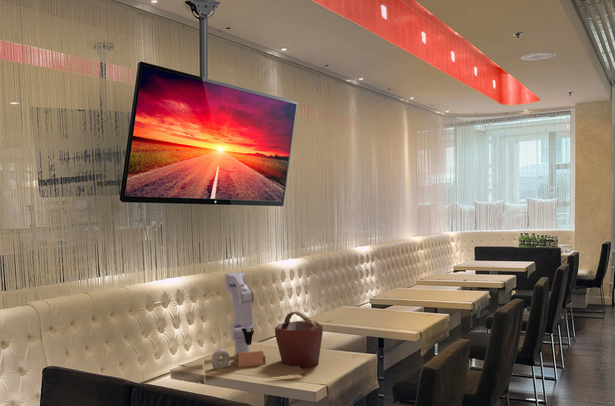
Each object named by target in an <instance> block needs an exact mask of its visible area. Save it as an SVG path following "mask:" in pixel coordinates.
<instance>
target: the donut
mask: <svg viewBox="0 0 615 406" xmlns="http://www.w3.org/2000/svg"><path fill="white" fill-rule="evenodd" d="M221 357H222V360H221V362H219V360H220V358H221ZM210 362H211V366H212V368H213V369H214V370H220V369H224V368H226V367H228V365H229V364H230V354H229V352H228V351H227V349H223V348H219V349H217V350H215V351H214V352H213V354H212V356H211V361H210Z"/></svg>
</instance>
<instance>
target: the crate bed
mask: <svg viewBox="0 0 615 406" xmlns="http://www.w3.org/2000/svg"><path fill="white" fill-rule="evenodd" d="M233 361H234V366H235V367H236V368H239V367H238V366H239V363H238V354H235V353H233ZM263 364H264V365H266V355H265V354H264V352H263Z"/></svg>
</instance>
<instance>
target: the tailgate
mask: <svg viewBox="0 0 615 406" xmlns="http://www.w3.org/2000/svg"><path fill="white" fill-rule="evenodd" d="M263 353H264V351H263V350H255V351H249V352H242V353H238V363H239V366H238V367H237V368H244V367H254V366H263V365H265V364H263Z"/></svg>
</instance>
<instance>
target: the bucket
mask: <svg viewBox="0 0 615 406" xmlns="http://www.w3.org/2000/svg"><path fill="white" fill-rule="evenodd" d="M293 315H297V316H299V317H300V318H301V319H303V320H296V321H291V319H292V316H293ZM323 327H324V326H323V324H321V322H320V323H319V322H318V321H314V320H311V318H310V317H309V316H307V315H306V314H304V313H303V312H300V311H291V312H289V313H288V314H287V315H285V318H284V322H282V323H279V324H278V325H277V326H275V328H274V334H275V338H276V343H277V348H278V352H279V355H280V360H281V363H282V364H283V365H287V366H291V367H299V369H301V370H302V369H303V370H304V369H310V368H312V367H315V366H317V365H319V361H320V354H321V347H322V340H323V333H324V330H323Z"/></svg>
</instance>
